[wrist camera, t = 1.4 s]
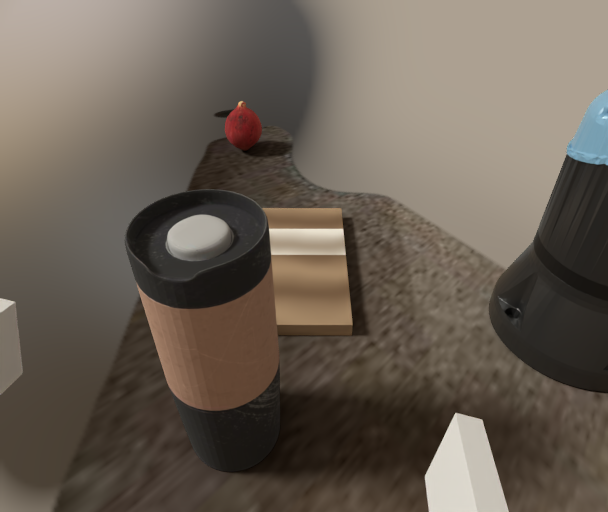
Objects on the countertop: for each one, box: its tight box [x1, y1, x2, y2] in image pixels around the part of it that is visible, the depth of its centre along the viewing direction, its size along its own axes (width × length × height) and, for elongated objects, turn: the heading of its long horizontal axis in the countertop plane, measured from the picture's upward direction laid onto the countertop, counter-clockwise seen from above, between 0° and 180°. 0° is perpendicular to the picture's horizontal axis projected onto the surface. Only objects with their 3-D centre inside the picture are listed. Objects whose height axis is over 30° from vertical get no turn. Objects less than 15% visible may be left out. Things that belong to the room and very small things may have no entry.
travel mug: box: [125, 189, 280, 472], centre depth 30 cm, size 8×8×20 cm
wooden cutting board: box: [262, 208, 353, 336], centre depth 51 cm, size 20×12×2 cm, turn 179°
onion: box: [225, 101, 262, 151], centre depth 72 cm, size 6×6×8 cm
